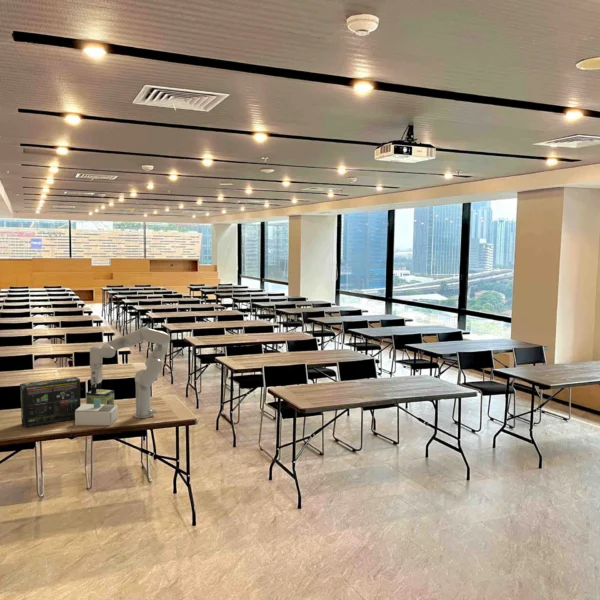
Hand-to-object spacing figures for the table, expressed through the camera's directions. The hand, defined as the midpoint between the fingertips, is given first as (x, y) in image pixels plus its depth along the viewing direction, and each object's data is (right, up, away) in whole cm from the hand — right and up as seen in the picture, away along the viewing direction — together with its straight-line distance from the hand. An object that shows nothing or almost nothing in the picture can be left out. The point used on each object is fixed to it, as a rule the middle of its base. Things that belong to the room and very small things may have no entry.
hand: (96, 391), depth 369 cm
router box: (-29, -20, +1) cm, 36 cm away
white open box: (-1, -20, +2) cm, 21 cm away
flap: (-4, -11, +1) cm, 12 cm away
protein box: (-4, -19, +20) cm, 28 cm away
